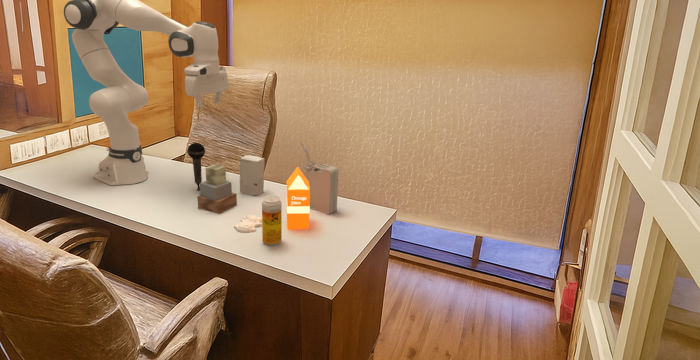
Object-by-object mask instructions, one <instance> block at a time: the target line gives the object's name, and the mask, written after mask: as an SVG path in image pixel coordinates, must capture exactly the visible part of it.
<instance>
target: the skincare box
mask: <svg viewBox="0 0 700 360" xmlns="http://www.w3.org/2000/svg"><path fill="white" fill-rule="evenodd" d="M239 161H240V163H239V193H240V194H246V195H252V196H255V197H258V196H259V195H260V194H262V193H264V186H265V184H264V182H265V157H261V156H256V155H250V154H246V155H244V156H241V157H240V159H239Z"/></svg>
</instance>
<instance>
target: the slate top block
mask: <svg viewBox="0 0 700 360" xmlns="http://www.w3.org/2000/svg"><path fill="white" fill-rule="evenodd" d="M232 184H233V183H232V181H229V180H226V182H225V183H222V184H220V185H218V186H216V185H212V184H208V183H206V180H205V181H202V182H201V183H200V185H199V187H200V191H199V196H203V197H206V198H208V199H211V200H214V201H217V200H219V199H222V198H225V197H227V196H230V195H232V192H233V191H232V190H233V188H232Z"/></svg>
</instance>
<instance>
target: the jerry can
mask: <svg viewBox="0 0 700 360" xmlns="http://www.w3.org/2000/svg"><path fill="white" fill-rule="evenodd" d="M300 144H301V147H302V148H303V151H304V152H305V155H306V160H307V162H306V163H307V165H303V169H304V170H305V172H304V173H303V175H304V176H305V177H306V179H307V180H308V181H309V187H310V209H312V210H315V211H316V212H319V213H322V214H325V215H330V214H332V213H335V212H337V210H338V192H339V191H338V187H339V169H338V167H337V166H333V165H328V164H326V163H325V164H324V163H320V164H318V163H315V162H314V161H313V160H311V158H310V153H309V150H308V148H307V146H306V144H305V142H304V141H301V142H300Z"/></svg>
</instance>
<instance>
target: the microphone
mask: <svg viewBox="0 0 700 360" xmlns="http://www.w3.org/2000/svg"><path fill="white" fill-rule="evenodd" d="M186 153H187V155H188V156H189V157H190V158H191V160H192V168H193V179H194V184H196V185H197V188H196V190H197V191H198V192H200V183H201V182H203V180H202V179H203V178H202V158H203V157H204V156H205V154H206V149H205V147H204V145H203V144H202V143H199V142H193V143H190V145H189V146H188V147H187V150H186Z"/></svg>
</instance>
